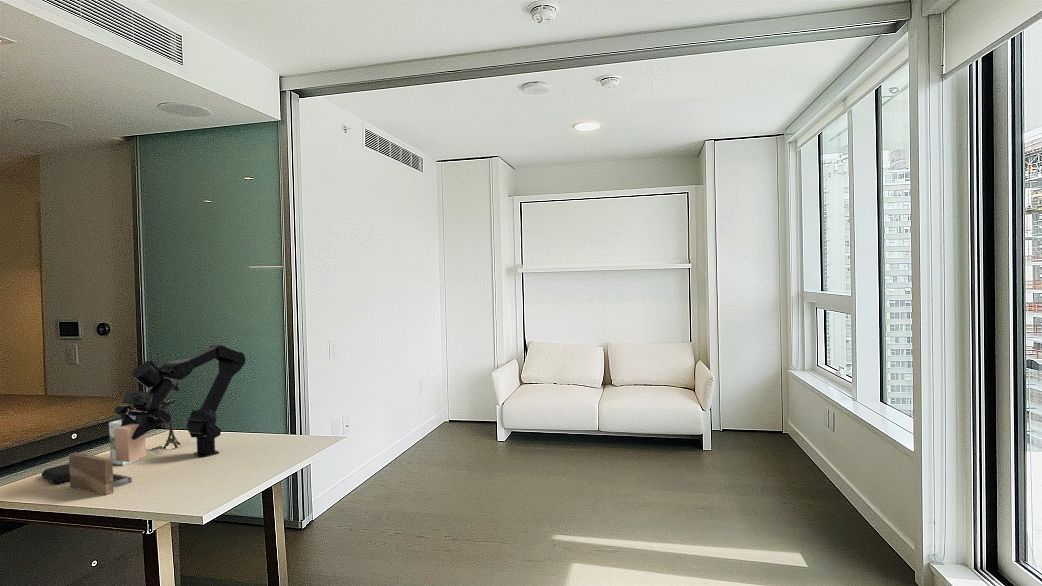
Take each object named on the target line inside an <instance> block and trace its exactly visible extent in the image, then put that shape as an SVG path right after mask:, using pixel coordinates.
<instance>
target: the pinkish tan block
mask: <svg viewBox="0 0 1042 586" xmlns="http://www.w3.org/2000/svg"><path fill="white" fill-rule="evenodd" d="M139 424H140V423H138V424H128V425H125V426H121V427H117V428H114V432H115V451H116V460H117V461H126V462H130V461H133V460H136V459H138V460H139V459H142V458H144V457H147V447H146V445H147V444H146V433H145V434H143V435H142V436H140V437H139V438H137V439H135V440H133V439H132V436H133V434H134V432H135V431H136V429H137V428H138V426H139Z"/></svg>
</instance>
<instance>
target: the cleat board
mask: <svg viewBox="0 0 1042 586" xmlns="http://www.w3.org/2000/svg"><path fill="white" fill-rule="evenodd" d="M68 464H69V468H70V482H69V487H70V488H73V487H75V488H74V489H77V488H80V489H79V490H82V489H84V490H83V491H86V490H89V491H88V492H90V491H93V492H92V493H95V492H97V493H96V494H99V493H102V494H101V495H103V494H106V495H105V496H108V495H111V494H110V493H112V494H114V493H115V492H114V489H115V488H118V487H122V486H124V485H127V484H130V483H132V481H133V480H132V479H133V477H132V476H127V475H122V474H121V475H120V474H118V473H114V471H113V470H114V469H113V467H114V466H113V465H114V464H112V459H111V457H109V458H108V457H103V456H99V455H93V454H88V453H87V454H86V453H82V452H76V451H75V452H73V453H69V454H68ZM114 487H115V488H114ZM113 492H114V493H113ZM107 494H108V495H107Z"/></svg>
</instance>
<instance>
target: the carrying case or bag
mask: <svg viewBox="0 0 1042 586" xmlns="http://www.w3.org/2000/svg"><path fill="white" fill-rule="evenodd" d="M41 477H42V478H44V479H46V482H47V483H54V484H57V483H58V484H57V485H61V484H60V483H63V484H66V483H65V482H67V483H70V468H69V463H65V464H61V465H57V466H54V467H48V468H46V469H44V470H43V472H41Z"/></svg>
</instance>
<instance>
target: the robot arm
mask: <svg viewBox="0 0 1042 586" xmlns="http://www.w3.org/2000/svg"><path fill="white" fill-rule="evenodd" d="M214 360H216V361H217V362H218V363H217V365H218V366H217V367H218V373H217V375H216V377H215V379H214V381H213V384H212V385H211V387H210V389H209V391H208V393H207V394H206V397H205V400H204V402H203V403H202V404H201V405H202V406H201V407H200V408H199V409H198V410H196V409H195V410H192V411H191V413H190V415H189V418H188V419H187V420H186V421H187V423H186V428H187V431H188V433H189V435H190V438H195V439H196V451H195V452H193V455H194V456H196V457H198V458H204V457H207V456H213V455H216V454H219V453H220V451H218V450H216V439H217V438H218V437H220V436H221V432H222V429H221V428H220V427H219V426H217V425H216V424H217V423H216V422H217V414H216V413H217V412H216V411H217V410H218V407H219V405H220V404H221V401H222V400H223V397H224V396H225V393H226V391H227V390H228V387H229V386H230V384H231V381H232V379H233V377H234V376H235V375H236V374H237V373H239V372H240V371H241V369H242V368H243V367H244V365H245V363H246V361H247V360H246V356H245V354H244V353H243V352H241V351H237V350H234V349H231V348H228V347H226V346H225V345H224V344H223V345H222V344H211V345H209V346H208V347H207V348H204V349H202V350H201V351H198V352H195V353H194V354H192V355H190V356H188V357H186V358H182V359H176V360H175V359H174V360H170V361H167V362H165V363H163V364H162V365H161V366H160V367H158V366H157V365H156V364H155V363H154V362H153V361H152V360H145V362H144V363H142V364H140V365H138V366H137V367H135V368H134V369H133V370H132V373H131V375H132V377H133V378H134V379H135V380H136V381H137V382H139V383H140V384H141V385H143V386H144V387H145V388H149V390H148V391H146V390H141V391H139V393H138V392H130V391H129V392H127V391H125V392H124V395H123V397H122V400H121V403H124V404H125V405H124V404H120V405H117V406H116V408H115V409H114V410H113V412H114V413H115V414H116V415H118V416H119V417H120V419H122V423H121V426H125V425H128V424H139V426H138V428H137V429H136V431H135V432H134V434H133V436H132V439H133V440H135V439H137V438H139V437H140V436H142V435H143V434H145V435H146V434H147V433H148V432H150V431H152V430H154V429H155V428H157V427H160V426H161V424H162V425H170V421H171V416H172V414H171V413H169V412H168V411H166V409H164V408H162V407H165V406H166V404H167V403H166V402H165V401H166V399H167V398H168V397H169V395H170V394H171V392H179V391H180V387H179V383H178V382H174V381H173V380H175V381H176V380H177V381H181V380H184V379H186V377H188V376H189V375H191V374H192V372H193V370H195V369H196V368H198V367H201V366H202V365H205V364H207V363H209V362H211V361H214ZM126 404H131V406H130V405H126ZM139 418H141V421H140V423H139V422H138V421H137V420H138V419H139ZM135 420H136V421H135Z"/></svg>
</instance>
